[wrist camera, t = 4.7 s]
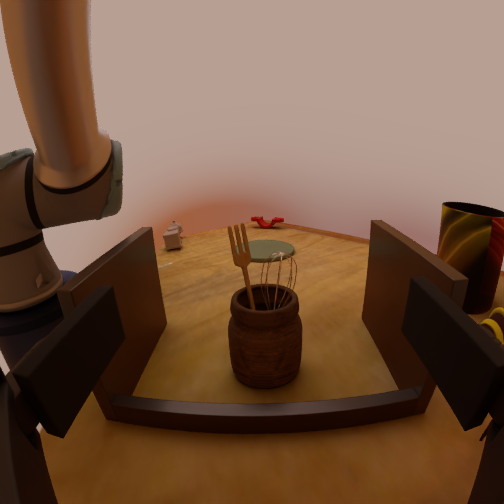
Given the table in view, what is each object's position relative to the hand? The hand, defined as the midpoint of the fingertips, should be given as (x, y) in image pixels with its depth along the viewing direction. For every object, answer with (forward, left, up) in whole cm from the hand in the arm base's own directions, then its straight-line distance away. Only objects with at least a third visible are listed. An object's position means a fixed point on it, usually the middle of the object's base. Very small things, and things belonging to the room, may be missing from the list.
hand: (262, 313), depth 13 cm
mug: (+1, +35, -11) cm, 37 cm away
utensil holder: (-7, +6, -11) cm, 15 cm away
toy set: (-50, +18, -7) cm, 54 cm away
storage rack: (-7, +6, -11) cm, 15 cm away
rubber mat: (-32, +27, -11) cm, 43 cm away
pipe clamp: (-45, +40, -9) cm, 61 cm away
